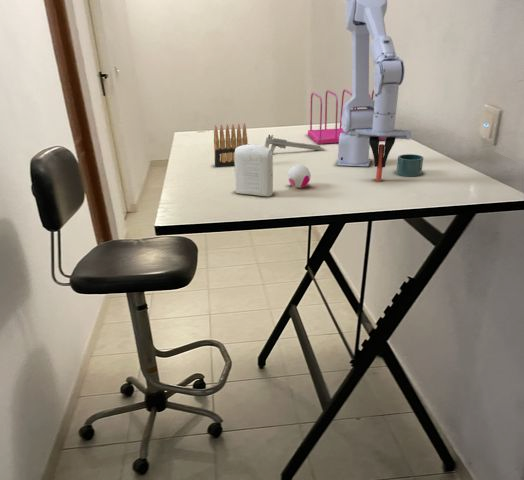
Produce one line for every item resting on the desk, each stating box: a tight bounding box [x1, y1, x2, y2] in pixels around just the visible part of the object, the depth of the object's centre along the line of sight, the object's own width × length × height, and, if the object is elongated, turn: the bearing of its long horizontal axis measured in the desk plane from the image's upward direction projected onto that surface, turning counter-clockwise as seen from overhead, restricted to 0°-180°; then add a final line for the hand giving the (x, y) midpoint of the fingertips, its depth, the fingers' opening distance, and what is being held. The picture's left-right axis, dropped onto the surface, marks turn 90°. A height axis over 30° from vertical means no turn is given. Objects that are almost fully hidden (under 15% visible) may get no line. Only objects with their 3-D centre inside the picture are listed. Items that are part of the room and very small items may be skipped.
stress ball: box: [287, 164, 311, 189], centre depth 142 cm, size 8×8×7 cm
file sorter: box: [307, 88, 386, 145], centre depth 191 cm, size 17×25×16 cm
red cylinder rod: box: [375, 143, 385, 182], centre depth 144 cm, size 2×2×10 cm
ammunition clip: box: [213, 123, 249, 168], centre depth 162 cm, size 11×2×12 cm, turn 101°
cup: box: [396, 153, 424, 177], centre depth 151 cm, size 7×7×4 cm
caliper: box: [264, 134, 325, 153], centre depth 176 cm, size 20×1×6 cm, turn 102°
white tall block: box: [234, 143, 274, 197], centre depth 136 cm, size 10×4×12 cm, turn 69°
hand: (379, 166), depth 145 cm, fingers closed on red cylinder rod, 1 cm apart
